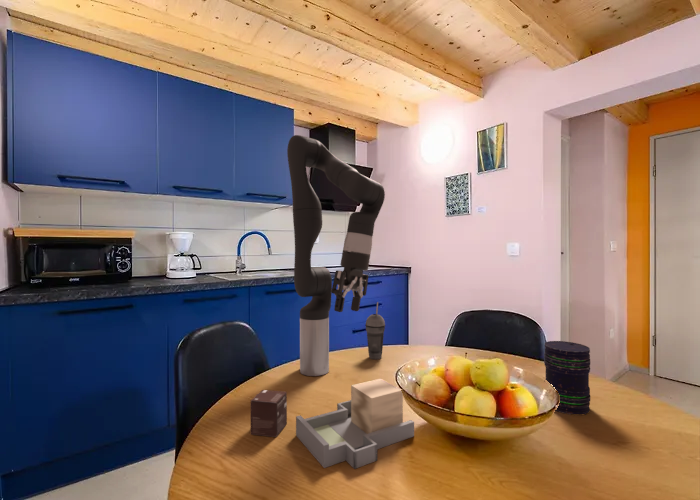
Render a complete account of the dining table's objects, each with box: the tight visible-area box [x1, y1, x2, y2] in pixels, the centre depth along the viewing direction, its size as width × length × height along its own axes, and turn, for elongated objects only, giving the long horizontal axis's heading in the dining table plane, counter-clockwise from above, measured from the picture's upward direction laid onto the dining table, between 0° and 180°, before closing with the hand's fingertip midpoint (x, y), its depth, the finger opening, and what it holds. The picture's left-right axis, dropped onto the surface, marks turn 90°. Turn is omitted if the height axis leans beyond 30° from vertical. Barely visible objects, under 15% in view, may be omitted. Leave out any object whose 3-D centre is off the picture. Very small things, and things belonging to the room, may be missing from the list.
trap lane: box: [295, 399, 415, 470], centre depth 75 cm, size 19×21×4 cm
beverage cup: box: [364, 301, 386, 360], centre depth 129 cm, size 7×7×20 cm
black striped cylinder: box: [543, 340, 591, 415], centre depth 89 cm, size 10×10×15 cm
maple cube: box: [350, 378, 404, 434], centre depth 78 cm, size 8×8×8 cm
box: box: [250, 389, 288, 438], centre depth 78 cm, size 6×6×7 cm
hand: (346, 311), depth 96 cm, fingers open, 8 cm apart
